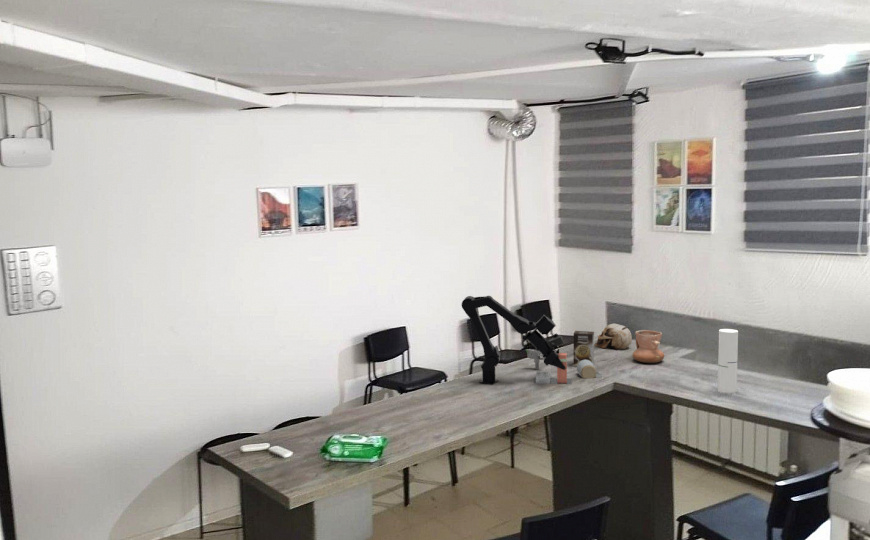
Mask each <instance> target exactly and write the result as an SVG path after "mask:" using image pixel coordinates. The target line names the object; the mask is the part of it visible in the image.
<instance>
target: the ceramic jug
mask: <svg viewBox="0 0 870 540" xmlns="http://www.w3.org/2000/svg"><path fill="white" fill-rule="evenodd" d="M662 336H663V333H662V332H661V331H656V330H647V329H640V330H636V331H635V347H636V349H635V350H634V351H633V352H632V357H633V359H634V360H635V361H637V362H639V363H643V364H656V363H659V362H661V361H663V360H664V359H665V354H664V352H663V351H662V350H660V349H659V348H658V347H659V345H660V344H661V340H662Z"/></svg>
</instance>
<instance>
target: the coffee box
mask: <svg viewBox="0 0 870 540" xmlns="http://www.w3.org/2000/svg"><path fill="white" fill-rule="evenodd" d="M594 354H595V331H589V330H588V331H587V330H586V331H585V330H574V332H573V363H572V364H573V365H572V367H575V368H577V365H578V363H579V362H580V361H582V360H589V361H591V362H592V363H593V365H594V366H595V363H594V361H595V360H594V359H595V355H594Z"/></svg>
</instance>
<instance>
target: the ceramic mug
mask: <svg viewBox="0 0 870 540" xmlns="http://www.w3.org/2000/svg"><path fill="white" fill-rule="evenodd" d="M576 371H577V373H578V375H579V376H580V377H581V378H582V379H595V378H602V377H604V376H603V374H602V373H601V372H599V371H597V368H596V367H595V364H594V365H593V363H592V362H591V361H589V360H582V361H580V362H579V363H578V365H577V367H576Z"/></svg>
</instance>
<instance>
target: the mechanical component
mask: <svg viewBox="0 0 870 540" xmlns="http://www.w3.org/2000/svg"><path fill="white" fill-rule="evenodd" d="M525 352H526V354H527V355H526V356H527V358H528V359H530V360H531V359H532V360H533V362H534V366H535V367H534V369H535V370H537V371H539V365H540V363H541V362H540V361H544V357H543V355H542V354H541V353H540V352H539V351H537V350H536V349H533V348H529V349H526V351H525Z"/></svg>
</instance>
